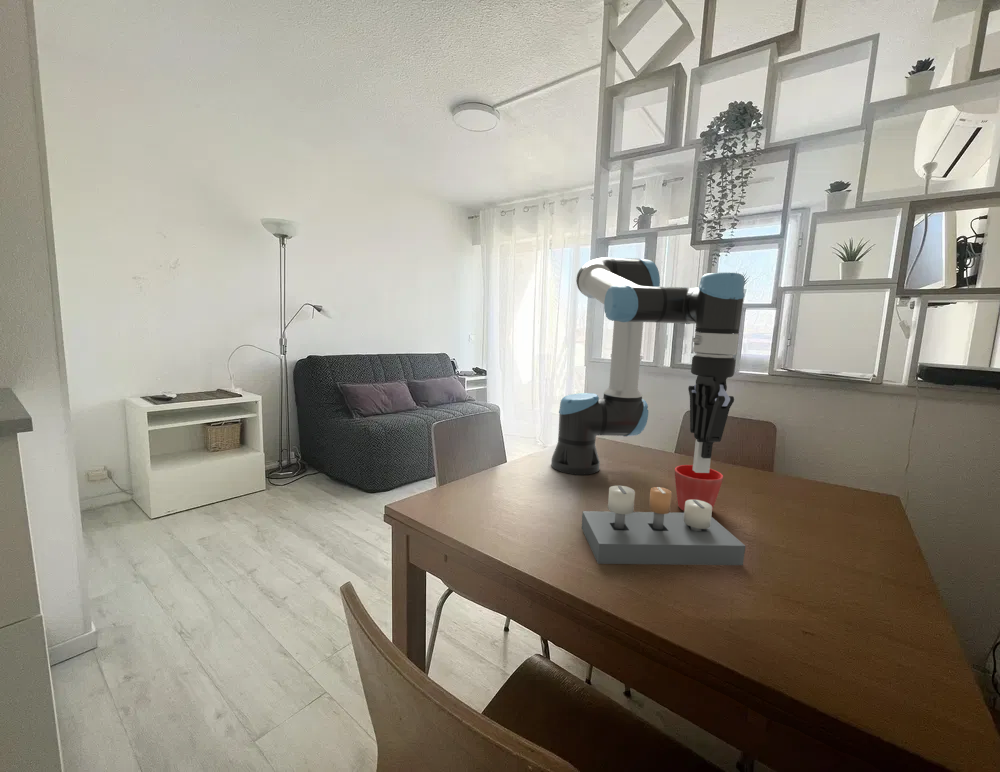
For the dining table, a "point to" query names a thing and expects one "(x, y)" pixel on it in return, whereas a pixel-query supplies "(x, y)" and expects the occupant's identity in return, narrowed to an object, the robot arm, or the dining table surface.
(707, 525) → the knob
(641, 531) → the control box
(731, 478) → the dining table surface
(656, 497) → the pot knob
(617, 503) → the knob
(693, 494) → the flower pot
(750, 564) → the dining table surface
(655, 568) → the dining table surface
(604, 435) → the robot arm
